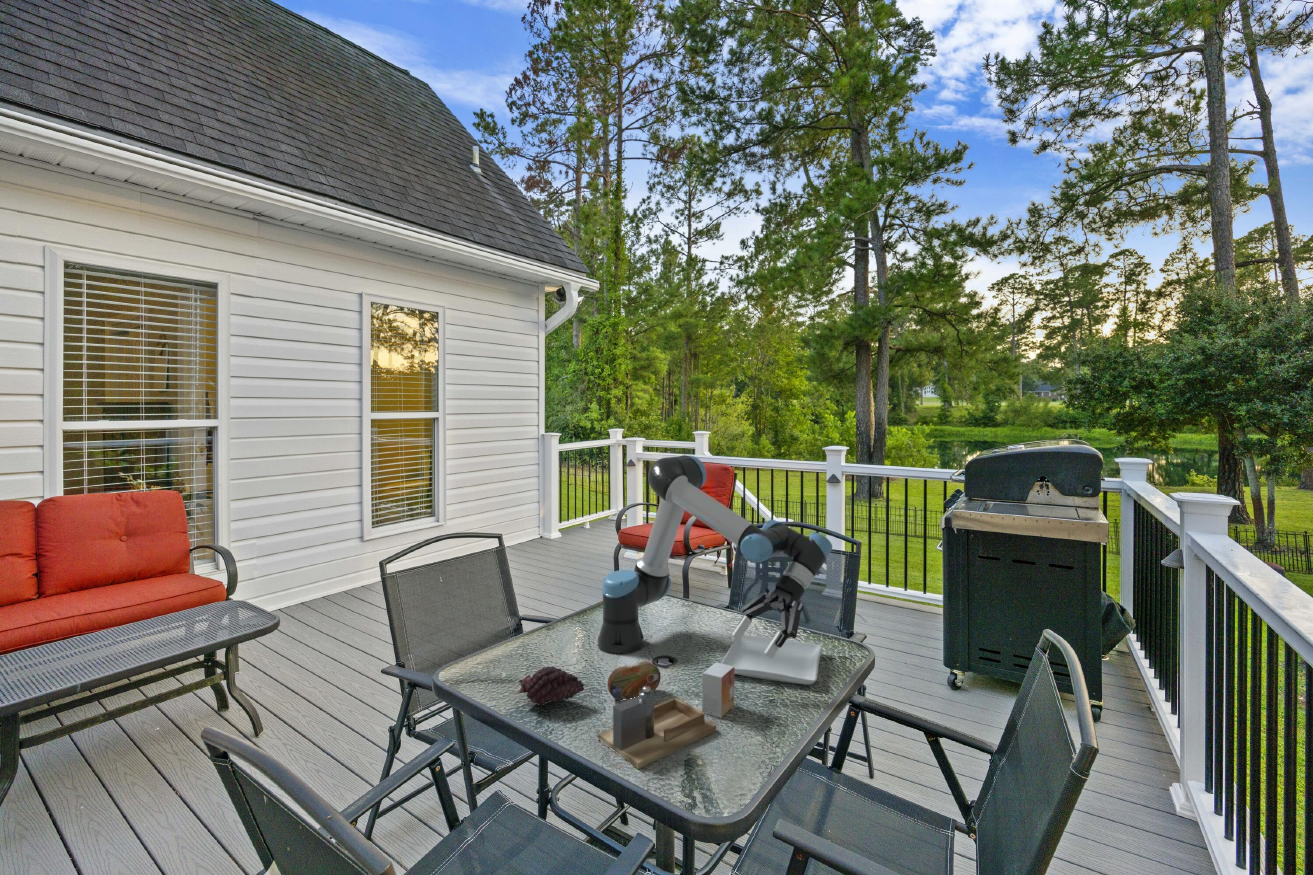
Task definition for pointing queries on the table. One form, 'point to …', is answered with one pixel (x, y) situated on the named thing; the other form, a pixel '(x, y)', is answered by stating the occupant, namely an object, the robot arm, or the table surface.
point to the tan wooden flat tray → (665, 733)
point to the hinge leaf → (634, 720)
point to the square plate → (774, 660)
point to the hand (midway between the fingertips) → (750, 646)
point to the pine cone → (550, 685)
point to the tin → (633, 680)
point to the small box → (718, 689)
